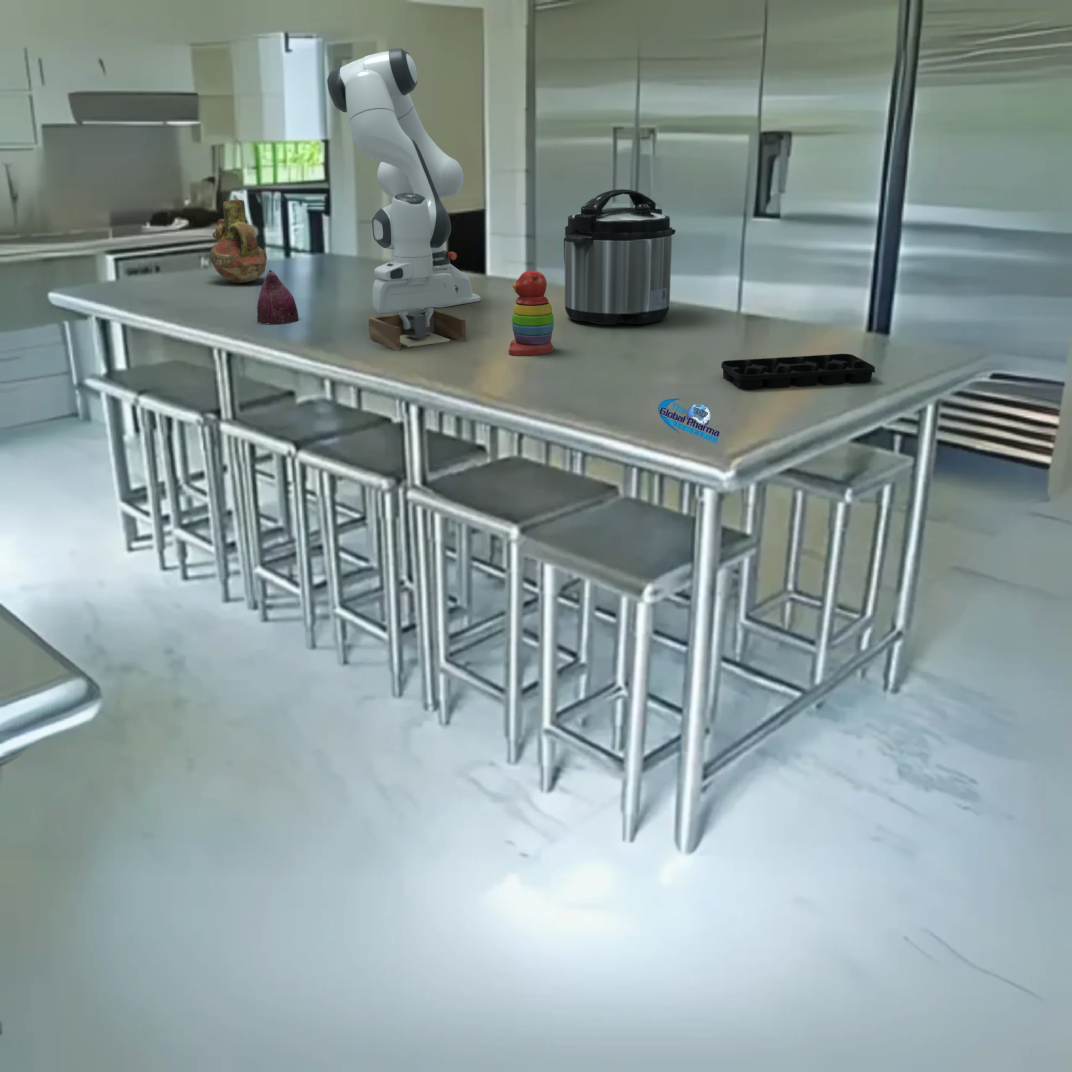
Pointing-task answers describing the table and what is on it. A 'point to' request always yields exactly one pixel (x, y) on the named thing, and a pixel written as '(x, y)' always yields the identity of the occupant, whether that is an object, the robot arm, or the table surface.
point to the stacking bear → (531, 316)
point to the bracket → (418, 324)
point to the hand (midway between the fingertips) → (416, 327)
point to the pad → (422, 340)
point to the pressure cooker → (618, 261)
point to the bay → (391, 329)
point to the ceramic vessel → (237, 246)
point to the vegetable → (275, 302)
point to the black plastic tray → (797, 371)
